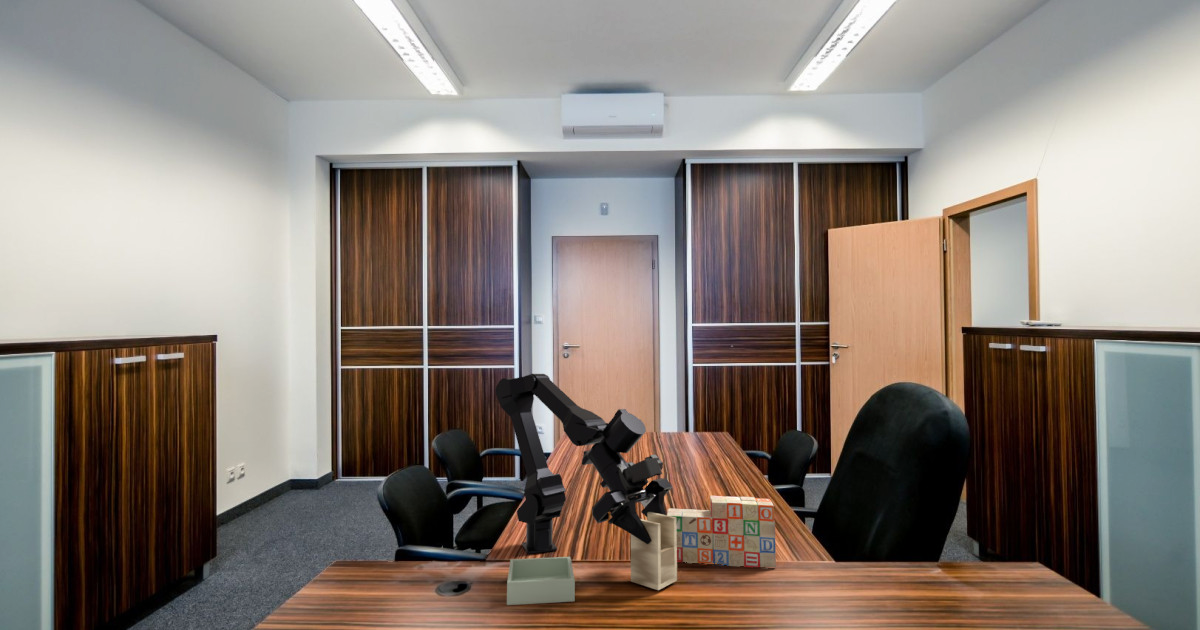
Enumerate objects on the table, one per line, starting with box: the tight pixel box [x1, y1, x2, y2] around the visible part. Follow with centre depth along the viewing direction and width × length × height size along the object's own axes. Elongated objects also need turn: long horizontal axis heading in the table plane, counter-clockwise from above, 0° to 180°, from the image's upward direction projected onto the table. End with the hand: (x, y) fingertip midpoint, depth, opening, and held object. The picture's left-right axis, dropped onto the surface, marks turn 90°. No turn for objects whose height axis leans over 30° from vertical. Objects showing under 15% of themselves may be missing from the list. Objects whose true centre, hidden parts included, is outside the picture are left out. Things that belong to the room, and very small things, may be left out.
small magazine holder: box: [630, 512, 678, 591], centre depth 94 cm, size 6×6×11 cm
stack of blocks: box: [666, 495, 777, 569], centre depth 107 cm, size 21×6×12 cm, turn 79°
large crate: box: [506, 556, 576, 606], centre depth 92 cm, size 11×11×4 cm
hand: (660, 538), depth 94 cm, fingers closed on small magazine holder, 6 cm apart
